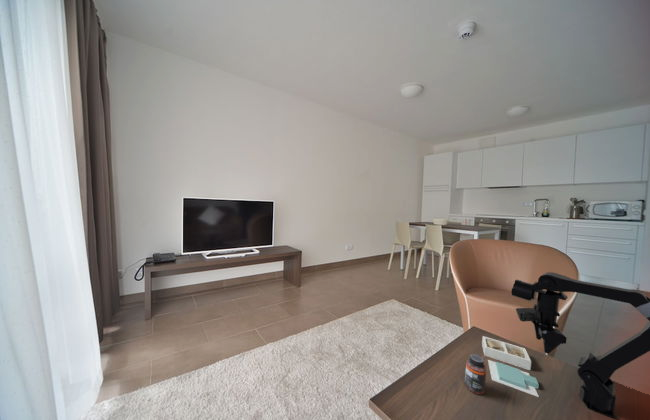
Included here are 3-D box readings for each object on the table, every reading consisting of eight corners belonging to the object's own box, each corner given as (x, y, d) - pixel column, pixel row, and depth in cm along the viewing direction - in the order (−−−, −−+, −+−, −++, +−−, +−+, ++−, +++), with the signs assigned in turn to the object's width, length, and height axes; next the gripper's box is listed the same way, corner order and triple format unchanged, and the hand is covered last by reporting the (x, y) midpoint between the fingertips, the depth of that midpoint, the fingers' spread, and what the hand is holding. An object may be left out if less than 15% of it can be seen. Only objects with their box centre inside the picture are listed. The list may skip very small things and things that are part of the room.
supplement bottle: (478, 382, 83) (481, 352, 82) (488, 396, 77) (491, 365, 76) (461, 380, 83) (463, 351, 82) (469, 394, 77) (472, 363, 76)
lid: (532, 376, 86) (533, 372, 85) (540, 394, 78) (541, 390, 78) (495, 364, 91) (495, 360, 91) (499, 379, 83) (499, 375, 83)
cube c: (496, 350, 100) (497, 341, 100) (501, 356, 96) (502, 347, 96) (486, 348, 101) (487, 340, 100) (491, 355, 97) (492, 346, 96)
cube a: (519, 356, 97) (520, 349, 97) (523, 360, 94) (523, 354, 94) (511, 354, 98) (511, 347, 98) (514, 358, 95) (515, 352, 95)
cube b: (517, 361, 94) (517, 354, 94) (516, 364, 92) (517, 357, 91) (507, 357, 96) (508, 350, 96) (507, 360, 94) (507, 353, 94)
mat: (528, 374, 87) (528, 373, 87) (538, 397, 77) (538, 396, 77) (487, 360, 94) (487, 359, 94) (491, 380, 83) (492, 379, 83)
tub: (523, 357, 97) (525, 348, 96) (530, 371, 89) (531, 361, 89) (481, 344, 104) (482, 336, 104) (484, 355, 96) (485, 347, 96)
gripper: (513, 291, 96) (509, 326, 97) (525, 310, 80) (521, 352, 81) (549, 298, 91) (544, 335, 92) (569, 320, 75) (563, 365, 76)
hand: (542, 345), depth 85 cm, fingers open, 9 cm apart
